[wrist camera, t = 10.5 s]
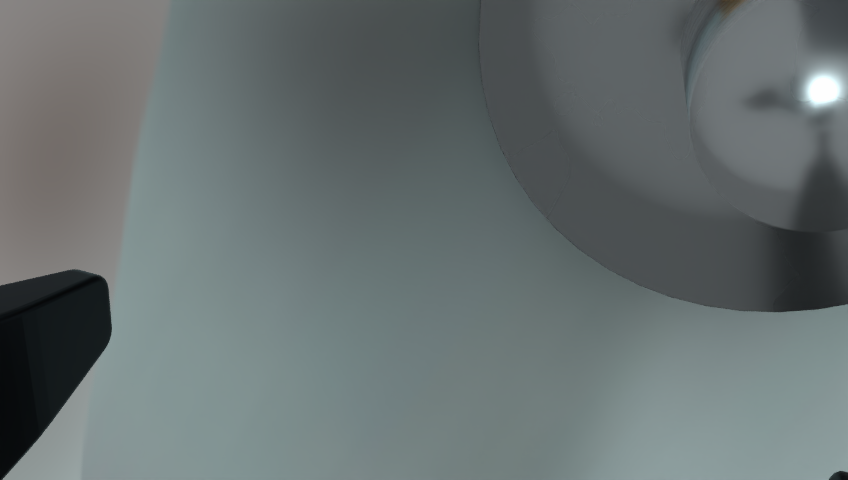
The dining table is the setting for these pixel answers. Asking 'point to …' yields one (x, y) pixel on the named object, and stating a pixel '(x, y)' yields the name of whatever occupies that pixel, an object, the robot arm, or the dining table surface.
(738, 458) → the dining table surface
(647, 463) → the dining table surface
